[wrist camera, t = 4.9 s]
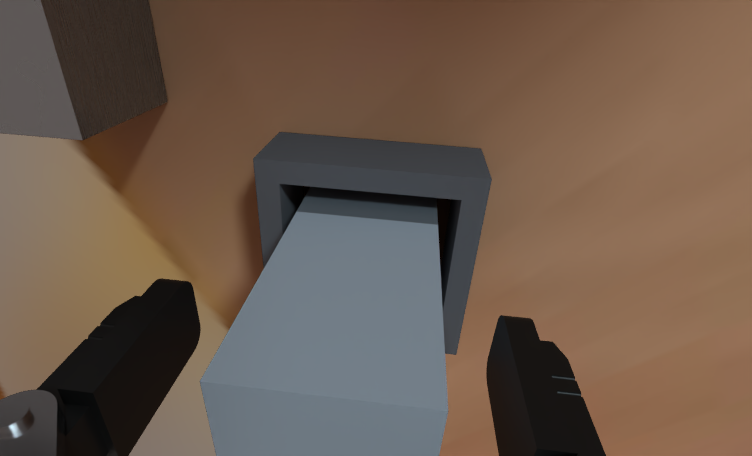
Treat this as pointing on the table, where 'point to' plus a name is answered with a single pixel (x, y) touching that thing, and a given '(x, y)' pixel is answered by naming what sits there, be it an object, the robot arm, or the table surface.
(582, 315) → the table surface
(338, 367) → the plug
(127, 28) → the port panel
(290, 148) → the dark grey square frame
